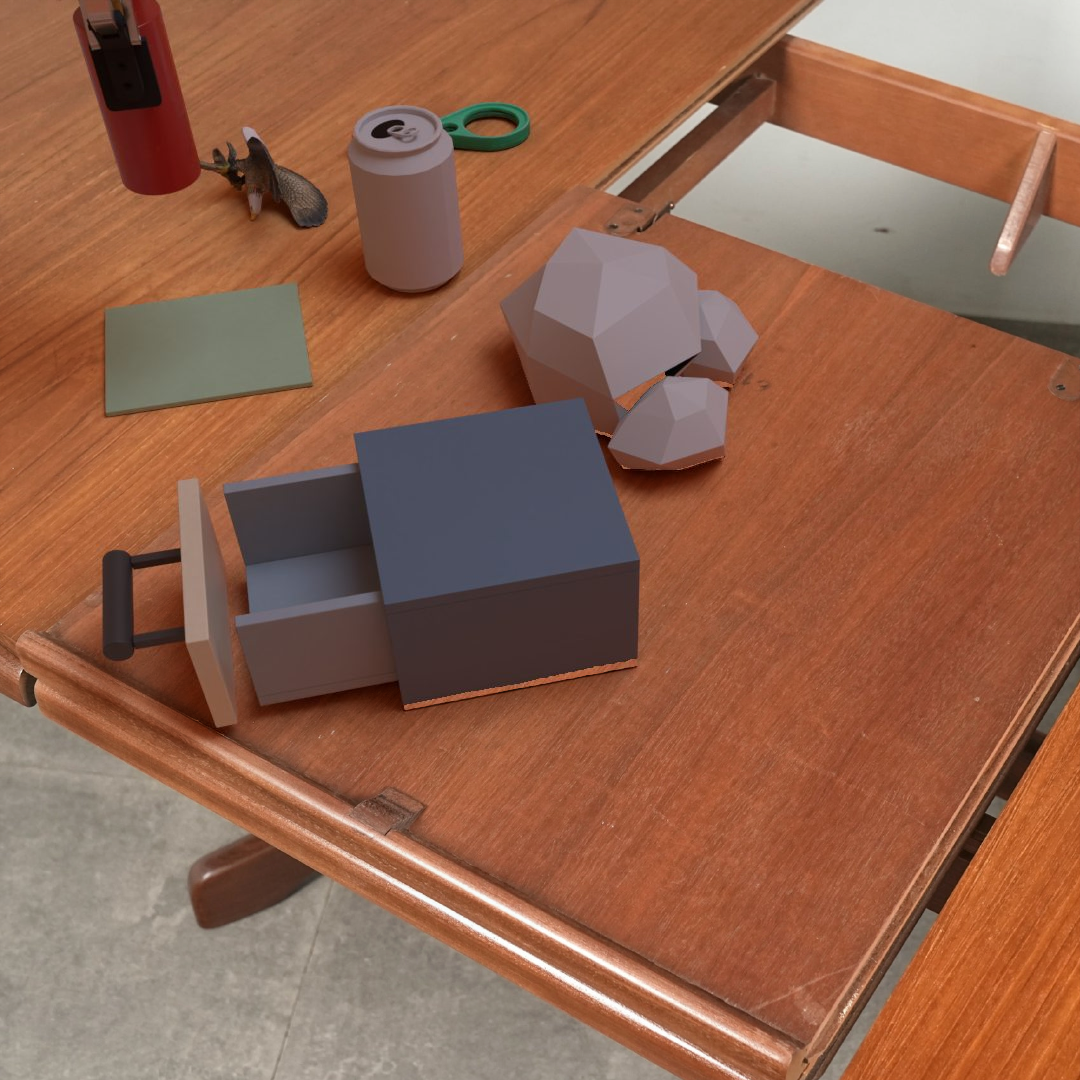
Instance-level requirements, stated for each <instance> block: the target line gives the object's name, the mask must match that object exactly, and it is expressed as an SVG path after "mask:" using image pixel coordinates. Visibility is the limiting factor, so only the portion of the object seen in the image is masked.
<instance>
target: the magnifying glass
mask: <svg viewBox="0 0 1080 1080" xmlns="http://www.w3.org/2000/svg"><path fill="white" fill-rule="evenodd" d="M484 117H499V118H504V119H508V120H509V121H512V122H513V123H514V124H516V125H517V127H516V128H515V129H514V130H511V132H507V133H504V134H501V135H492V136H488V135H480V134H476V133H474V132H472V131H469V130H468V129H467V128H465V127H466V125H467V124H468V123H469V122H472V121H473V120H476V119H479V118H484ZM438 118H439V119H440V120H441V121H442V127H443V129H444V130H445V131H446V132H447V133H448V134H449V135H450V137H451V138H452V142H453V148H454V149H455V148H456V149H465V150H475V151H486V152H490V151H493V152H494V151H501V150H506V149H510V148H515V147H516V146H518V145H520V144H522V143H523V142H525V141H526V140H527V139H528V138H529V136H530V134H531V121H530V119H531V118H530V115H529V114H528V112H527V111H526V110H525V109H524V108H522V107H520V106H518V105H515V104H512V103H507V102H501V101H487V102H486V101H485V102H478V103H473V104H471V105H468V106H465V107H463V108H460V109H458V110H455V111H453V112H451V113H448V114H446V115H444V116H441V117H438ZM350 137H351V139H352V138H353V137H354V133H351V136H350Z"/></svg>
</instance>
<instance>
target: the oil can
mask: <svg viewBox="0 0 1080 1080" xmlns="http://www.w3.org/2000/svg"><path fill="white" fill-rule="evenodd" d="M111 3H112V5H113V7H114V10H120V12H121V13H122V15H124V14H123V9H122V5H121V1H120V0H111ZM132 3H133V7H134V11H135V15H136V20H137V24H138V28H139V32H140V37H145V36H146V39H147V43H148V46H149V50H150V54H151V57H152V61H153V65H154V69H155V72H156V76H157V80H158V84H159V87H160V91H161V95H162V103H161V105H159V106H157V107H149V108H141V109H132V110H124V111H116V112H113V111H110V110H109V109H108V108H107V106H106V103H105V100H104V97H103V93H102V90H101V87H100V83H99V80H98V77H97V73H96V70H95V67H94V63H93V60H92V57H91V54H90V50H89V39H88V36H87V32H86V28H85V24H84V20H83V16H82V13H81V9H80V5H79V6H78V7H77V8H76V9H75V10H74V11H73V13H72V23H73V25H74V29H75V32H76V35H77V38H78V42H79V45H80V48H81V52H82V55H83V59H84V62H85V65H86V69H87V72H88V75H89V78H90V81H91V84H92V87H93V91H94V94H95V97H96V101H97V104H98V107H99V110H100V114H101V117H102V120H103V123H104V127H105V130H106V134H107V137H108V140H109V143H110V144H109V145H110V147H111V149H112V154H113V156H114V159H115V163H116V166H117V170H118V172H119V176H120V179H121V182H122V184H123V186H124V187H125V188H126V189H127V190H128V191H130V192H132V193H135V194H138V195H142V196H153V197H154V196H165V195H170V194H174V193H177V192H180V191H183V190H184V189H187V188H188V187H190V186H192V185H193V184H194V183H195V182H196V181H198V179H199V178H200V176H201V174H202V169H201V165H200V161H201V160H200V157H199V153H198V150H197V146H196V142H195V138H194V134H193V130H192V126H191V123H190V118H189V115H188V111H187V107H186V103H185V99H184V98H185V97H184V95H183V90H182V86H181V83H180V78H179V75H178V70H177V67H176V64H175V59H174V55H173V52H172V48H171V44H170V40H169V36H168V32H167V27H166V24H165V21H164V16H163V12H162V8H161V4H160V3H159V2H158V1H157V0H132ZM199 160H200V161H199Z"/></svg>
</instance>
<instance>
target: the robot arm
mask: <svg viewBox="0 0 1080 1080" xmlns="http://www.w3.org/2000/svg"><path fill="white" fill-rule="evenodd" d="M55 1H56V2H57V1H59V2H60V1H61V0H55ZM77 1H78V4H79V6H80V9H81V13H82V16H83V20H84V24H85V28H86V32H87V36H88V39H89V50H90V54H91V57H92V60H93V63H94V67H95V70H96V73H97V77H98V80H99V83H100V87H101V90H102V93H103V97H104V100H105V103H106V106H107V108H108V109H109V110H110V111H113V112H116V111H124V110H132V109H141V108H149V107H157V106H159V105H161V103H162V95H161V91H160V87H159V84H158V80H157V76H156V72H155V69H154V65H153V61H152V57H151V54H150V50H149V46H148V43H147V39H146V36H145V37H140V32H139V28H138V24H137V20H136V15H135V11H134V7H133V3H132V0H120V1H121V5H122V9H123V14H124V15H122V13H121V12H120V10H114V7H113V5H112V3H111V0H77Z"/></svg>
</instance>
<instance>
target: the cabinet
mask: <svg viewBox="0 0 1080 1080" xmlns="http://www.w3.org/2000/svg"><path fill="white" fill-rule="evenodd" d="M352 436H353V440H354V446H355V451H356V456H357V463H359V468H360V474H361V479H362V485H363V491H364V496H365V502H366V507H367V513H368V518H369V524H370V529H371V535H372V540H373V546H374V552H375V557H376V563H377V568H378V574H379V579H380V585H381V590H382V596H383V602H384V607H385V612H386V618H387V623H388V628H389V633H390V639H391V644H392V649H393V655H394V660H395V665H396V671H397V676H398V687H399V692H400V696H401V697H400V698H401V701H402V702H401V703H402V706H403V705H407V704H412V703H417V702H422V701H427V700H432V699H437V698H442V697H447V696H451V695H456V694H461V693H465V692H471V691H479V690H484V689H489V688H495V687H503V686H507V685H514V684H520V683H524V682H528V681H532V680H536V679H539V678H548V677H549V676H556V675H559V674H565V673H568V672H575V671H578V670H584V669H587V668H593V667H594V666H604V665H606V664H615V663H617V662H626V661H628V660H630V659H637V658H638V659H639V624H640V623H639V619H640V618H639V617H640V576H641V575H640V574H641V558H640V556H639V552H638V549H637V547H636V544H635V541H634V538H633V535H632V533H631V529H630V527H629V524H628V522H627V518H626V516H625V512H624V510H623V507H622V504H621V501H620V499H619V495H618V493H617V490H616V487H615V484H614V481H613V479H612V476H611V473H610V470H609V468H608V464H607V461H606V459H605V456H604V453H603V450H602V448H601V445H600V441H599V439H598V436H597V434H596V433H595V430H594V427H593V425H592V422H591V419H590V416H589V413H588V410H587V408H586V405H585V402H584V399H583V398H576V399H570V400H563V401H557V402H550V403H544V404H538V405H535V404H533V405H526V406H519V407H514V408H512V407H511V408H506V409H500V410H495V411H488V412H487V411H486V412H481V413H474V414H468V415H462V416H456V417H449V418H442V419H437V420H431V421H430V420H429V421H424V422H417V423H411V424H405V425H399V426H392V427H386V428H378V429H372V430H366V431H360V432H354V433H353V435H352Z"/></svg>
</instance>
